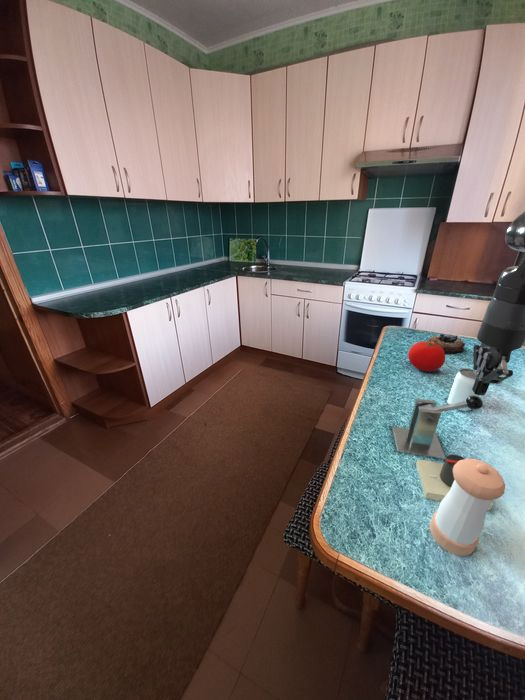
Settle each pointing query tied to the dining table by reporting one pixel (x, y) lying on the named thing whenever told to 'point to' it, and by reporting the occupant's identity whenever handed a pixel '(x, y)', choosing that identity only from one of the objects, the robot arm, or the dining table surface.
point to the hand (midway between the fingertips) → (478, 392)
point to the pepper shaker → (466, 506)
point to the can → (462, 387)
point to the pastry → (449, 343)
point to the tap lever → (457, 405)
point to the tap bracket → (420, 432)
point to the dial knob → (449, 469)
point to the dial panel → (433, 480)
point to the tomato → (426, 356)
